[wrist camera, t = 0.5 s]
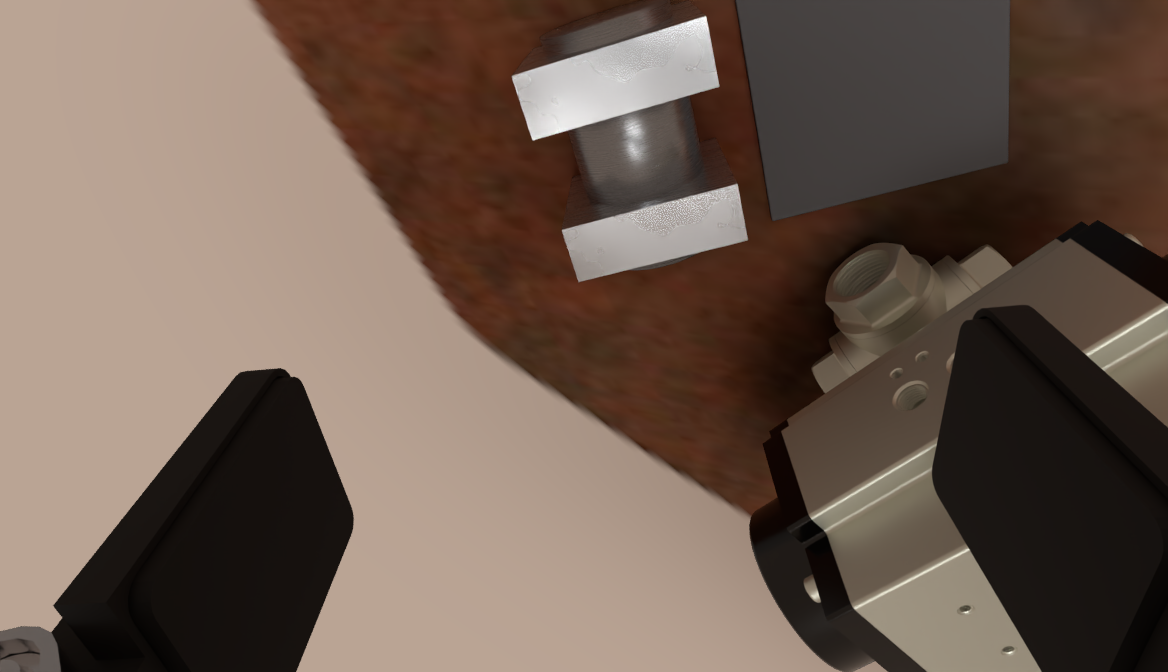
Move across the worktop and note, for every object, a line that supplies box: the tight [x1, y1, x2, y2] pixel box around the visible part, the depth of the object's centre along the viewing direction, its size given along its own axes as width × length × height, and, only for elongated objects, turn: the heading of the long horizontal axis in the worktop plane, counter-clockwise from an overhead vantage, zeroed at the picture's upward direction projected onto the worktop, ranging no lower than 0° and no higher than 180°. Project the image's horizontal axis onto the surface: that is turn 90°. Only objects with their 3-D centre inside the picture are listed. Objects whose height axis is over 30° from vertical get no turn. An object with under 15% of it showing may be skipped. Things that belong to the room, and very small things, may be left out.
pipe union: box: [512, 0, 748, 282], centre depth 27 cm, size 9×6×6 cm
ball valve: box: [749, 220, 1168, 672], centre depth 26 cm, size 18×8×18 cm, turn 135°
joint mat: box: [735, 0, 1010, 221], centre depth 28 cm, size 10×10×1 cm
